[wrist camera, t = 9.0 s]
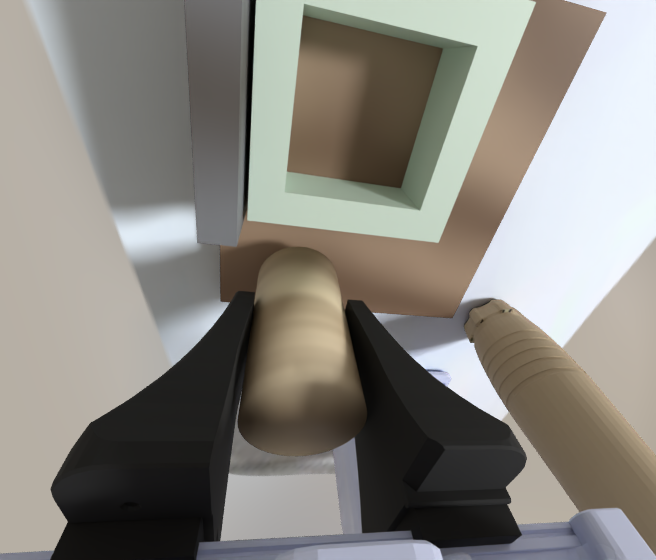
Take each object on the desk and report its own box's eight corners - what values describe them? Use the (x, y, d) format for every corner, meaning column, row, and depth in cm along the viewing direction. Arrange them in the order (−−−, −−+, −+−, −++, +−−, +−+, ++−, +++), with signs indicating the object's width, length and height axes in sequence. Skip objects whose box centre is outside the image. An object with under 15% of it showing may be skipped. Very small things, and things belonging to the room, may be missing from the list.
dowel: (329, 314, 16) (352, 455, 10) (256, 308, 15) (236, 456, 10) (343, 251, 14) (381, 381, 8) (260, 242, 13) (239, 377, 8)
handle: (449, 286, 19) (758, 723, 6) (549, 284, 19) (1003, 674, 7) (429, 345, 21) (621, 732, 9) (519, 342, 22) (809, 696, 10)
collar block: (417, 217, 15) (438, 242, 13) (253, 195, 13) (247, 220, 11) (489, 12, 11) (536, 2, 9) (265, -47, 9) (259, -76, 7)
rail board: (445, 307, 20) (487, 373, 15) (223, 290, 17) (203, 362, 13) (584, 15, 12) (738, -7, 8) (222, -87, 10) (173, -196, 6)
